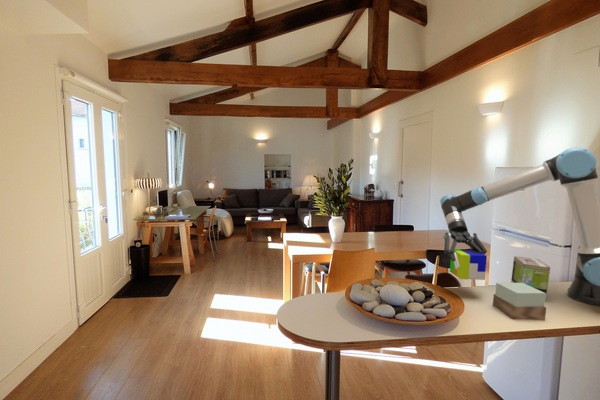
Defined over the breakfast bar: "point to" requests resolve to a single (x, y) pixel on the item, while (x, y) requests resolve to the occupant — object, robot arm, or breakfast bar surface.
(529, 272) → the tea box
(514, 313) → the walnut base slab
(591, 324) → the breakfast bar surface
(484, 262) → the puzzle toy
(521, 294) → the grey-green top slab
